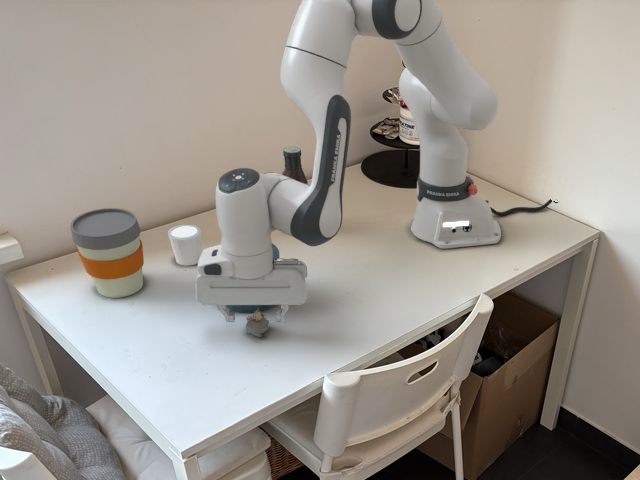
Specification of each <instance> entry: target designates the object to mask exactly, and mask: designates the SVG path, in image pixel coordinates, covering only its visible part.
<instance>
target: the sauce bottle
mask: <svg viewBox="0 0 640 480" xmlns="http://www.w3.org/2000/svg"><path fill="white" fill-rule="evenodd" d="M282 153H283V157H284V158H283V159H284V170H283V171H282V173H281V175H284V176H286V177H289V178H292V179H294V180H296V181H298V182H301V183H304V184H306V185H309V182H308V179H307V177H306V175H305V172H304V169H303V166H302V158H301V157H302V149H301V148H300V147H298V146H286V147H284V148H283V149H282Z"/></svg>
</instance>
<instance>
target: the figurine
mask: <svg viewBox="0 0 640 480" xmlns="http://www.w3.org/2000/svg"><path fill="white" fill-rule="evenodd" d="M246 316H247V317H246V324H245V330H246V332H247V333H248V334H251V335H253V336H254V337H258V338H262V336H263V334H264V333H266V331H268V329H269V328H270V325H269V324H270V320H268V317H266V315H265V314H263V313H262V310H260V308H259V307H258V308H257V310H256V311H255V312H253V313H250V314H249V313H248V314H247V313H246Z"/></svg>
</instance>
